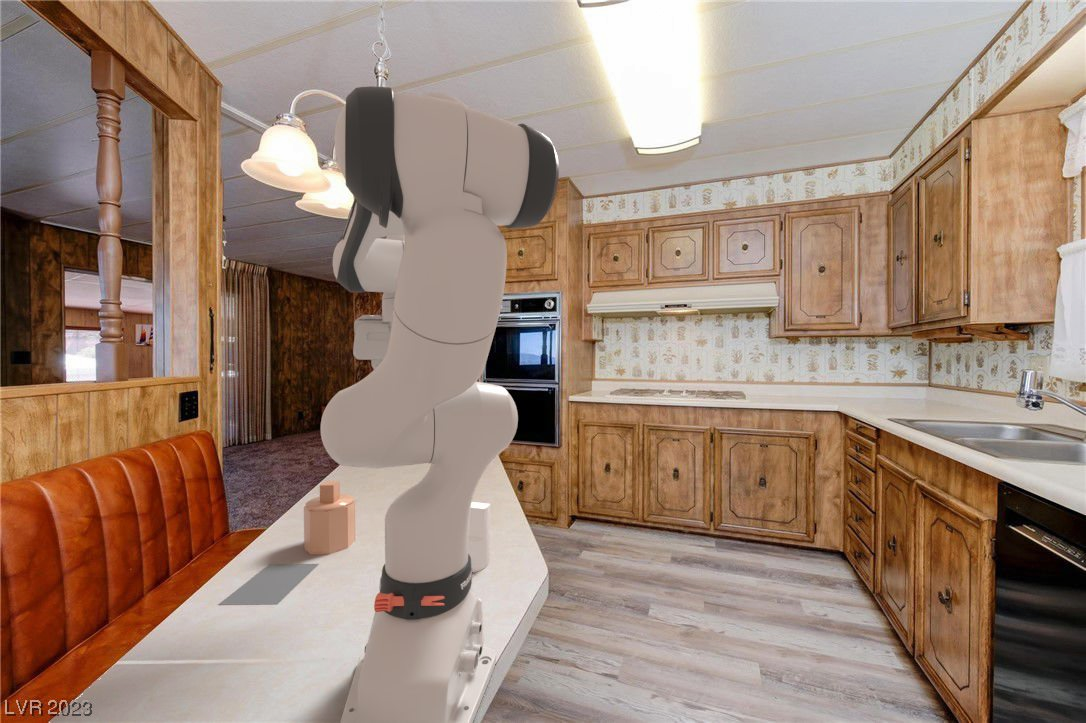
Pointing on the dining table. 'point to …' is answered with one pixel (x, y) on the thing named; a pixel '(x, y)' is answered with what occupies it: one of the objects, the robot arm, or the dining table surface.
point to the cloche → (329, 520)
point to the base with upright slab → (479, 536)
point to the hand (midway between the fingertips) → (405, 382)
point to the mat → (270, 585)
